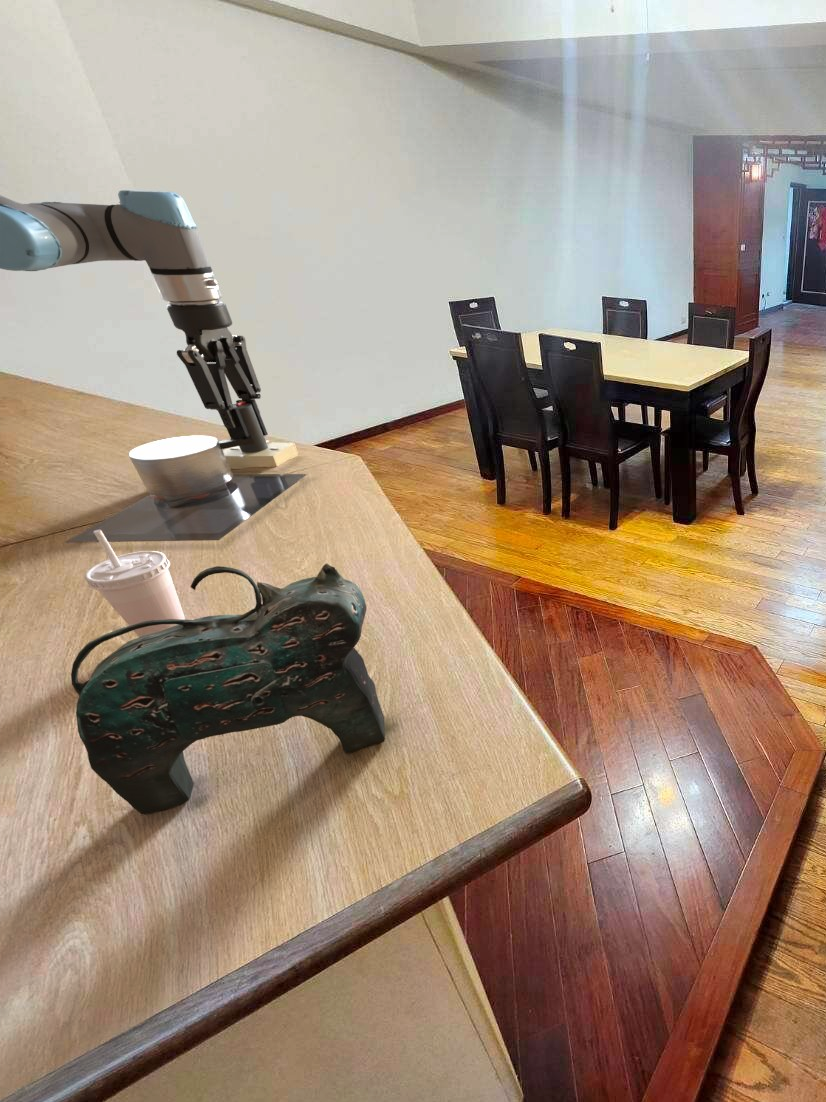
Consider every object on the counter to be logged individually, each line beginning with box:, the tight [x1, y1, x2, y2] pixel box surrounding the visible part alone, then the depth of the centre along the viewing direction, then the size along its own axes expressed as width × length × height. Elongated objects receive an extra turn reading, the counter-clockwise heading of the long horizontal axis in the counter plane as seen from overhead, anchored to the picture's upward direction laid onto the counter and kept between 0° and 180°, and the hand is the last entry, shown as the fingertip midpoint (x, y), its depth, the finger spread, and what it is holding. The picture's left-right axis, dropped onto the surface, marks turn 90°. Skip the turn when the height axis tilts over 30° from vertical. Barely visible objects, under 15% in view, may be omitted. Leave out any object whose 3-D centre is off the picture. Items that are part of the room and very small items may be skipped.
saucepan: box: [128, 435, 254, 502], centre depth 98 cm, size 16×11×7 cm
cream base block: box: [222, 440, 299, 470], centre depth 109 cm, size 10×8×3 cm
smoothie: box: [84, 530, 186, 638], centre depth 63 cm, size 6×6×14 cm
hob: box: [65, 473, 308, 543], centre depth 93 cm, size 20×24×1 cm
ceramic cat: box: [70, 563, 386, 815], centre depth 47 cm, size 20×6×20 cm, turn 118°
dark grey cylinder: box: [232, 401, 268, 453], centre depth 106 cm, size 4×4×8 cm
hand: (250, 439), depth 107 cm, fingers closed on dark grey cylinder, 4 cm apart
